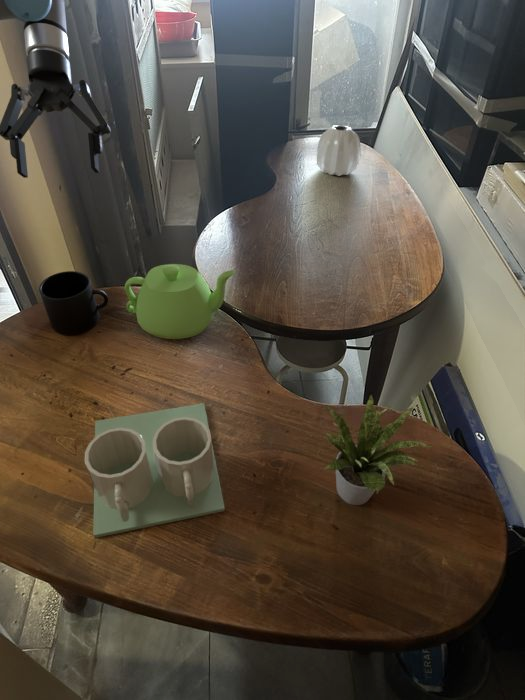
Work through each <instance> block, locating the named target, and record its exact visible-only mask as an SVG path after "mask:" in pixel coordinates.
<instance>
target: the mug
mask: <svg viewBox="0 0 525 700" xmlns="http://www.w3.org/2000/svg"><path fill="white" fill-rule="evenodd" d="M38 292H39V295H40V298H41V300H42V303H43V306H44V309H45V311H46V315H47V317H48V320H49V322H50V325H51V327H52V329H53V330H54V331H55V332H56V333H58V334H60V335H64V336H76V335H81V334H84V333H87V332H89V331H90V330H92V329H93V328H95V327H96V325H97V324H98V322H99V320H100V312H99V310H100V309H103V308H105V307H106V306H107V305H108V303H109V296H108V294H107V293H106V292H105V291H104V290H101V289H98V288H97V289H95V288H93V286H92V281H91V279H90V277H89V276H88V275H87V274H85V273H83V272H81V271H74V270H68V271H60V272H57V273H54V274H51V275H49V276H48V277H46V278H45V279H44V280H43V281H41V282H40V284H39V287H38ZM95 295H99V296H101V297H103V302H102V303H100V304H99V303H97V301H96V297H95Z"/></svg>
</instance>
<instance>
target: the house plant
mask: <svg viewBox="0 0 525 700" xmlns="http://www.w3.org/2000/svg"><path fill="white" fill-rule="evenodd" d="M378 404H379V403H378V402H377V404H376V408H375V409H374V398H373V394H372V393H371V394H370V395H369V398H368V400H367V402H366V405H365V409H364V413H363V417H362V421H361V423H360V426H359V431H358V435H357V442H356V443H357V444H355V442H354V440H353V436H352V434H351V431H350V429H349V427H348V425H347V422H346V421H345V419H344V418H343V417H342V416H341V415H340V414H338V413H337V412H336V411H335V410H334V409H333V408H332V407H330V406H327V405H325V407H326V409H327V411H329V413H330V416H331V417H332V418H333V420H334V421H335V424H336V426H337V427H338V435H335V434H332V433H326V436H327V440H328V441H329V442H330V444H332V445H333V446H334V447H335V448H336V449H337V450H338V451H339V453H338V454H337V456H336V457H335V458H336V459H333V460H331V461H330V462H329V463H328V464H327V465H326V466H325V467H324V468H323V469H324V470H326V469H327V470H331V471H335V483H336V486H335V487H336V493H337V495H338V496H339V497H340V498H341V499H342V501H344V502H345V503H346V504H348V505H352V506H362V505H364V504H366V503H367V502H368V501H369V500H370V499H371V497H372V496H373V495H374V494H375V492H376V494H378V493H379V492H380V491H381V490H383V488H384V487H385V485H386V477H387V479H389V481H390V483H391V484H392V485H393V486H395V481H394V477H393V474H392V472H391V469H390V468H389V467H391V466H403V465H412V466H419V464H418V463H415V462H419V460H418V459H416V458H415V457H411V456H408V455H407V453H405V452H404V451H401V450H398V449H405V448H413V447H423V448H433V446H432V445H430V444H427V443H425V442H421V441H417V440H399V441H395V442H392V443H390V444H388V445H387V446H385V447H383V446H384V445H385V444H386V443H387V442H388V441H389V440H390V439H391V438H392V437H393V435H394V434H395V433H396V432H397V431H398V430H399V429H400V428H401V426H402V425H403V423H404V422H405V421H406V420H407V418H408V416H409V415H410V414H411V413H412V411H413V409H414V406H412V407H411V408H409V409H407V410H405V411H404V412H402V413H401V414H399V416H398V417H396V419H395V420H393V421H392V422H390V423H388V424H386V425H385V426H380V425H381V415H382V414H383V413H385V412H387V410H389V409H390V408H391V407H392V405H390V406H388V407H386V408H385V409H383V410H380V408H379V405H378Z"/></svg>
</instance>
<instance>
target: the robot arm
mask: <svg viewBox="0 0 525 700" xmlns="http://www.w3.org/2000/svg"><path fill="white" fill-rule="evenodd" d="M66 17H67V16H66V0H0V21H4V20H5V21H6V20H13V19H15V20H19V21H21V22H22V27H23V34H24V46H25V54H26V66H27V76H28V77H27V78H28V85H27V86H19V85H18V84H16V83H13V84H11V89H10V98H9V101H8V103H7V105H6V108H5V110H4V113H3V116H2V119H1V120H0V137H2V138H3V140H5V141H8V142H9V150H10V151H9V152H10V155H11V157H12V158H13V159H15V161H16V172H17V174H18V175H19V176H21V177H22V178H24V179H27V178H29V176H28V175H29V174H28V163H27V154H26V144H25V142H24V141H23V140H22V139H23V138H24V136H25V135H26V134H27V133H28V131H29V130H30V129H31V127H32V126H33V124H34V122H35V121H36V120H37V118H38V117H39V116H41V115H42V114H43V113H44V112H47V113H52V112H54V111H56V112H64V110H66V109H68V110H69V111H70V112H71V113H72V114H73V115H74V116H75V117H76V118H77V119H78V121H80V122H81V123H82V124H83V125H84V126H85V127H86V128H87V129H88V130H89V131H90V132H88V133H87V138H88V147H89V149H88V150H89V160H90V169H92V171H93V172H94V173H95V174H98V173H100V163H99V154H103V151H104V149H103V139H102V138H103V136H104V135H106V134H107V135H109V134H111V132H112V130H111V127H110V126H109V124H108V123H107V120H106V119H105V117H104V116H103V114H102V113H101V111H100V109H99V108H98V106H97V104H96V103H95V101H94V99H93V98H92V94H91V89H90V87H89V85H88V84H87V82H86V81H85V79H80V80H79V82H78V83H74V84H73V83H72V82H73V80H72V71H71V63H70V51H69V37H68V29H67V18H66ZM76 94H78V95H79V97H81V98H83V99H84V101H85V102H86V104H87V106H88V107H89V109H90V110H91V112H92V114H93V116H94V117H95V118H96V120H97V123H98V124H99V125H96V124H95V123H94V122H93V121H92V120H91V119H90V118H89V117H88V116H87V115H86V114H85V113H84V112H83V111H82V110H81V109H80V108H79V107H78V106H77V105H76V104H75V102H73V100H72V99H73V98H74V96H75V95H76ZM28 96H30V99H29V100H28V101H27V97H28ZM25 101H27V104H26V107H25V109H24V110H23V106H24V102H25ZM22 110H23V111H22Z"/></svg>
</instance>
